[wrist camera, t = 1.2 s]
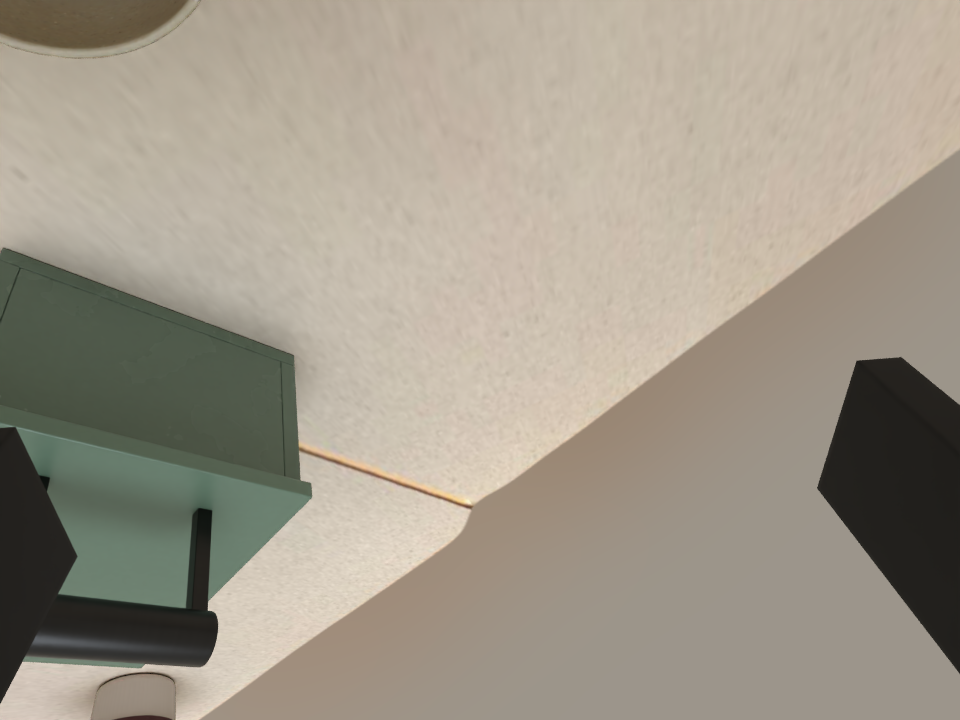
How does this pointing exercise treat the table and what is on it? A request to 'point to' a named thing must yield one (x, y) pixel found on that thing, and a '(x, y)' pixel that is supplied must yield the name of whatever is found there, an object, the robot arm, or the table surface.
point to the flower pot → (88, 25)
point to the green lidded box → (145, 541)
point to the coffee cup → (136, 699)
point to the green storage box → (142, 370)
